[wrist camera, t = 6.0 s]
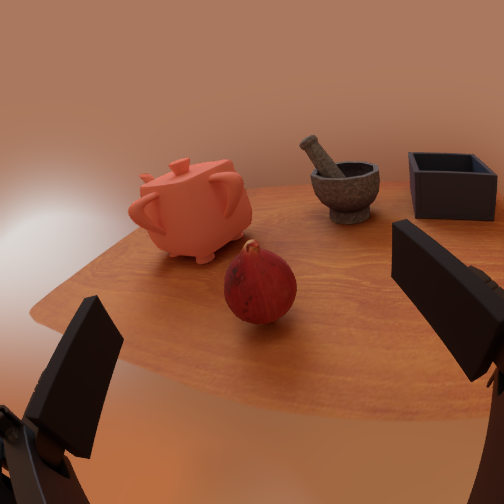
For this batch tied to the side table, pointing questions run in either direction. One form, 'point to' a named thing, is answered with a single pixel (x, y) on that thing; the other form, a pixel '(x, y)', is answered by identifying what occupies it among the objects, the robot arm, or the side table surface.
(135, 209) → the teapot
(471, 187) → the dark blue open box
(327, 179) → the mortar and pestle
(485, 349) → the robot arm
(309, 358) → the side table surface
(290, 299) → the onion
